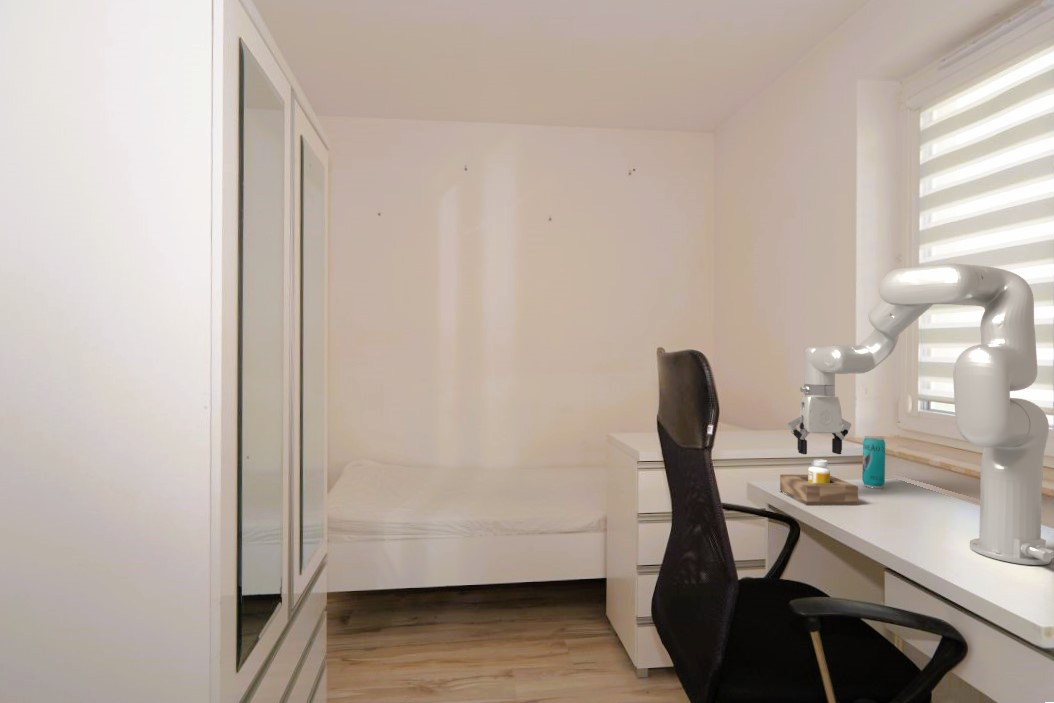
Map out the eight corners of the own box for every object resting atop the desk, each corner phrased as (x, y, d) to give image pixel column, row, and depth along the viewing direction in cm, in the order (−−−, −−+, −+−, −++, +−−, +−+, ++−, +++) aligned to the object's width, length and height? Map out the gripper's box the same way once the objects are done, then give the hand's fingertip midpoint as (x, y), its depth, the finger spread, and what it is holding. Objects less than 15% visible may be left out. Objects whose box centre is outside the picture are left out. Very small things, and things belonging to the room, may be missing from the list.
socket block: (857, 505, 151) (858, 486, 151) (806, 505, 151) (806, 486, 150) (827, 491, 165) (827, 474, 165) (780, 491, 164) (780, 474, 164)
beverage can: (858, 484, 175) (859, 435, 175) (877, 484, 175) (878, 435, 175) (868, 489, 170) (869, 438, 169) (888, 489, 169) (889, 438, 169)
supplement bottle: (804, 494, 158) (804, 459, 158) (813, 491, 162) (813, 457, 162) (824, 498, 154) (824, 462, 154) (832, 495, 157) (833, 460, 157)
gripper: (796, 392, 153) (796, 456, 153) (858, 392, 154) (858, 455, 154) (782, 390, 161) (782, 451, 161) (841, 390, 162) (841, 451, 162)
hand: (819, 453), depth 157 cm, fingers open, 9 cm apart
